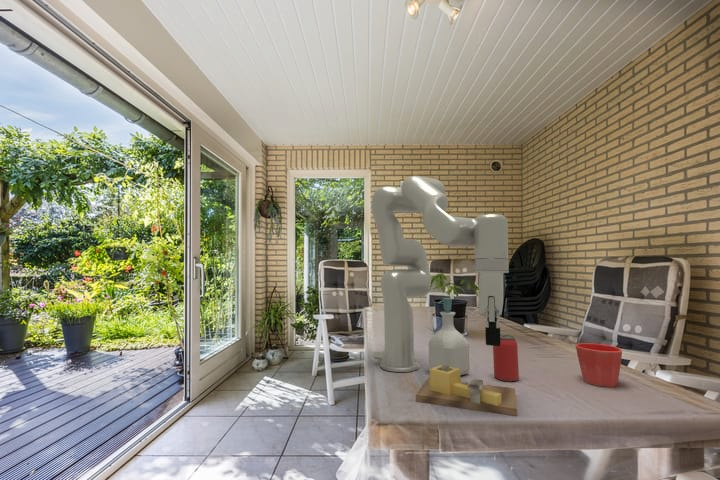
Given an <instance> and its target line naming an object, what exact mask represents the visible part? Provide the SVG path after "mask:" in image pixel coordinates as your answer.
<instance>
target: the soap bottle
mask: <svg viewBox="0 0 720 480" xmlns="http://www.w3.org/2000/svg"><path fill="white" fill-rule="evenodd" d="M452 302H453V298H452V297H451V298H450V297H444V298H443V297H442V300H440V301H439V302H437V303H438V304H439V305H440V303H442V304H443V305H442V306H443V310H444V311H440V312H439V315H440V316H441V319H442V325H441V327H440V329H439V330H438V331H436V332H435V333H434V334H433V335H432V336H431V338H430V339H429V341H428V360H429V361H428V363H429V364H428V365H429V370H430V369H432V368H434V367H437V366H440V365H447V366H449V367H453V368H458V369H460V377H461V376H463V375H467V374H468V373H469V372H470V347H469V346H470V344H469V341H468V340H467V339H466V338H465V336H463V334H461V332H459V331H458V330H457V329H456V328H455V325H454V316H455V315H456V312H455V311H451V310H452Z"/></svg>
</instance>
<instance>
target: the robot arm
mask: <svg viewBox="0 0 720 480" xmlns="http://www.w3.org/2000/svg"><path fill="white" fill-rule="evenodd" d="M448 206H449V198H448V196H447V195H446V187H445V186H444V184H443V182H442V181H441V180H439V179H437V178H431V177H426V176H420V175H412V176H408V177H406V178H405V179H404V180H403V181H402V183H401V185H400V187H398V186H391V185H388V186H387V185H385V186H381V187H379V188H377V189H376V190H375V191H374V193H373V196H372V198H371V213H372V217H373V220H374V223H375V225H376V229H377V235H378V236H377V237H378V243H379V250H380V256H381V259H382V260H381V261H382V262H383V263H384V264H385V266H389V267H407V269H406V268H405V269H404V268H402V269H401V268H400V269H399V268H397V269H391V270H390V269H389V270H387V271H386V272H384V273H383V274H382V276H381V279H380V288H381V293H382V299H383V300H382V301H383V318H384V323H383V324H384V351H382V352H380V351H374V352H373V353H372V356H373V358H374V359H376V360H381V361H380V363H379V367H380V368H381V370H385V371H387V372H393V373H408V372H415V371H417V370H419V368H420V363H419V362H418V361H415V348H414V347H415V339H414V338H415V337H414V329H415V328H414V311H413V307H412V305H411V303H410V302H409V300H408V299H410V298H411V299H412V298H422V297H423V298H424V297H426V296H427V295H428V294H429V293H430V291H431V288H432V282H431V281H432V280H431V273H430V268H429V263H428V258H427V252H426V249H425V247H424V245H423V244H422V243H421V242H420V241H419V240H416V239H410V238H409V239H408V238H407V239H406V238H405V237H404V234H403V233H404V232H403V228H402V224H401V222H400V221H399V219H398V218H397V216H396V215H395V214H394V212H397V213H405V214H417V213H420V214H421V217H422V218H421V219H422V224H423V227H424V229H425V231H426V232H427V233H428V234H429V235H430V236H431V237H433V238H434V239H435V240H436V241H437V242H438V243H440V244H442V245H443V246H448V247H463V248H474V273H479V277H478V278H479V279H478V314H479V315H480V316H483V314H485V327H484V329H485V345H486V346H492V347H493V346H500V343H501V342H500V335H501V327H500V316H502V315H503V314H502V312H503V306H504V274H509V272H510V271H509V269H510V268H509V266H510V265H509V233H508V231H509V229H508V218H507V217H506V216H505V215H503V214H496V213H489V214H481V215H478V216H476V217H475V218H472V217H464V216H452V215H450V214H449V213H447V212H446V210H447V209H448Z"/></svg>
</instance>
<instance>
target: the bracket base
mask: <svg viewBox="0 0 720 480" xmlns="http://www.w3.org/2000/svg"><path fill="white" fill-rule="evenodd" d="M441 371H446V372H448V371H450V368H449V366H447V365H442V366H441ZM461 384H464V385H468V388H470V398H467V397H463V396H459V395H456V394H451V395H447V394H443V393H440V392H436V391H432V390H430V377H428V378H427V379H426V380H425V381H424V383H423V385H422V386H420V388H419V389H418V390H417V393H416V394H415V402H418V403H425V404H430V405H431V404H432V405H438V406H446V407H453V408H461V409H465V410H466V409H467V410H471V411H472V410H474V411H480V412H487V413H493V414H501V415H507V416H515V417H517V416H518V406H517V405H518V404H517V394H516V387H509V386H508V387H507V386H498V385H489V384H484V380H483V379H475V378H469V379H468V382H464V381H461ZM480 389H485V390H489V391H493V392H497V393H501V400H502V403H501V404H499V405H498V406H496V405H492V404H488V403H485V402H481V401H480Z"/></svg>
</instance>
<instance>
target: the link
mask: <svg viewBox="0 0 720 480" xmlns="http://www.w3.org/2000/svg"><path fill="white" fill-rule="evenodd" d="M441 366H442V365H440V366H437V367H434V368H432V369H430V368H429V378H430V390H432V391H436V392H440V393H443V394H447V395H451V394H456V395H459V396H463V397H467V398H470V388H468V385H464V384H461V382H462V381H461V376H460V369H458V368H453V367H449V368H450V371H448V372H446V371H441ZM480 401H481V402H485V403H488V404H492V405H496V406H498V405H499V404H501V403H502V400H501V393H497V392H493V391H489V390H485V389H480Z"/></svg>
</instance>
